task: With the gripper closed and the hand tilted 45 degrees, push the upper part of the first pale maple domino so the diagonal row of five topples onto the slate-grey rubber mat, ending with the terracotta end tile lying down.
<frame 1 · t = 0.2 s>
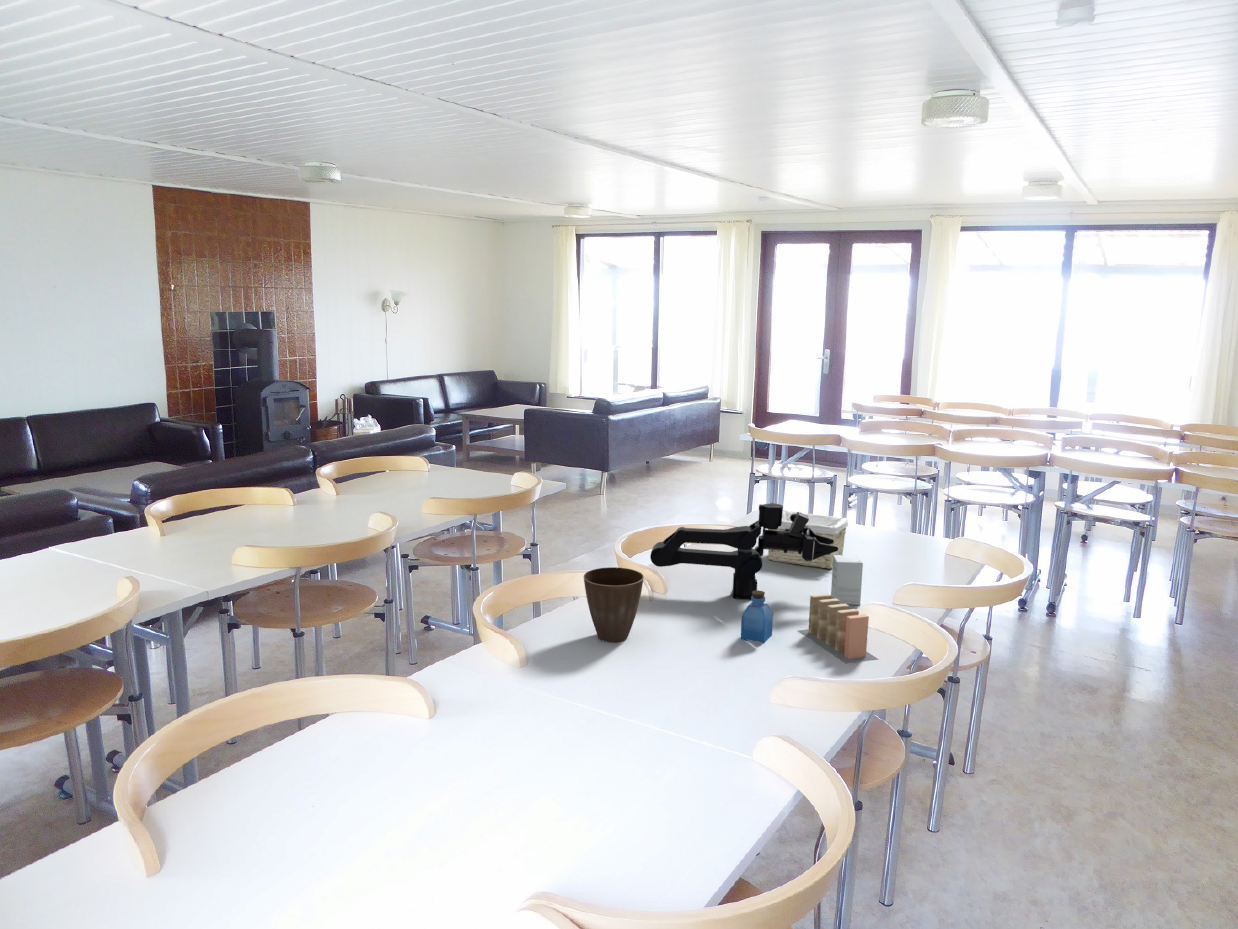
hand: (835, 545, 240), 16 cm above the table, tool horizontal, fingers open, 9 cm apart
domino 3: (836, 644, 209), resting on mat
supplement box: (845, 601, 243), on the table
perfume bottle: (756, 638, 214), on the table
plant pot: (612, 638, 212), on the table
storage basket: (804, 561, 284), on the table
domino 5: (855, 656, 202), resting on mat
domino 1: (818, 632, 217), resting on mat
domino 4: (845, 650, 206), resting on mat
domino 2: (827, 638, 213), resting on mat
mat: (836, 645, 209), on the table
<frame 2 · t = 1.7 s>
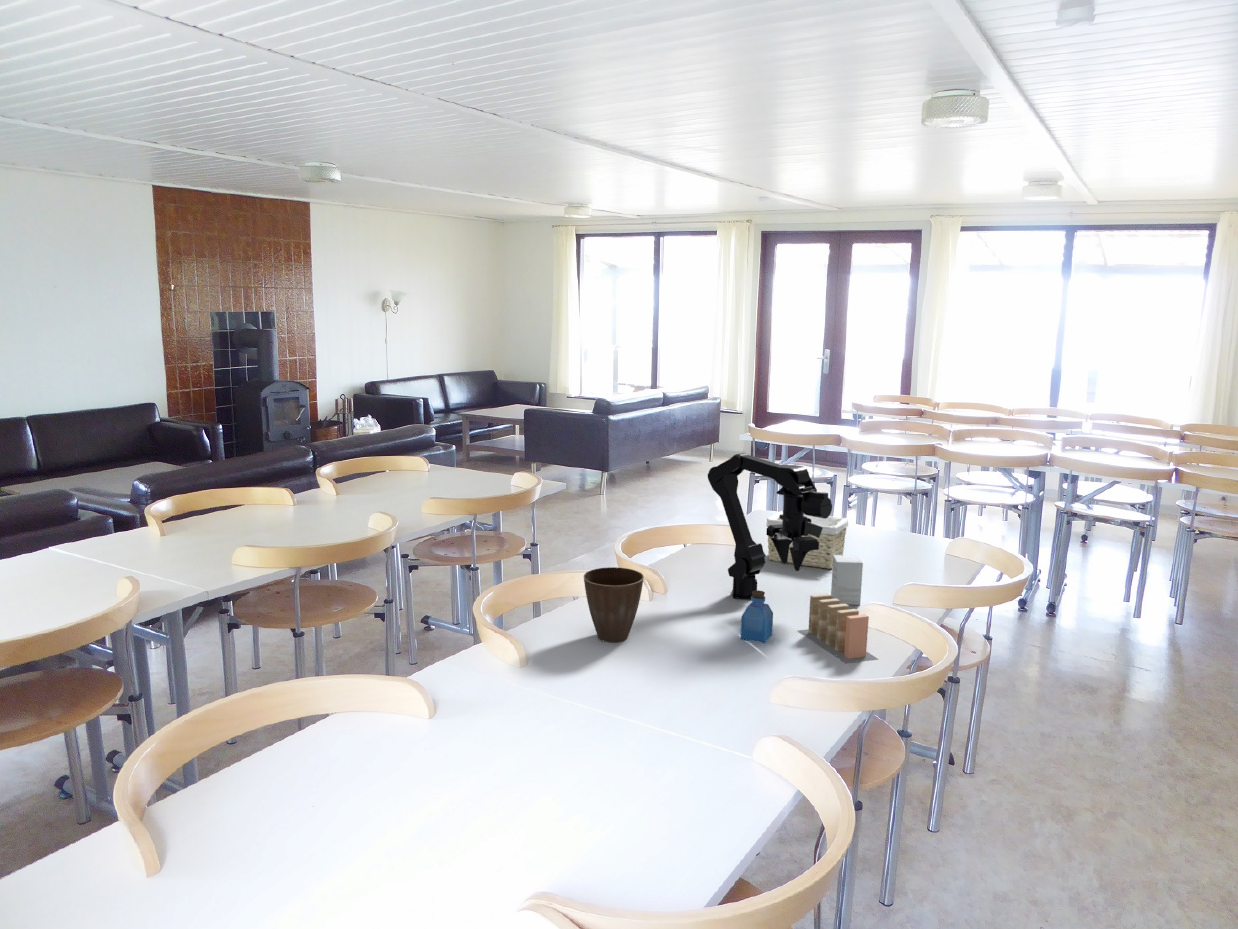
hand: (790, 567, 233), 12 cm above the table, tool pointing down, fingers open, 6 cm apart
nothing on the table moved.
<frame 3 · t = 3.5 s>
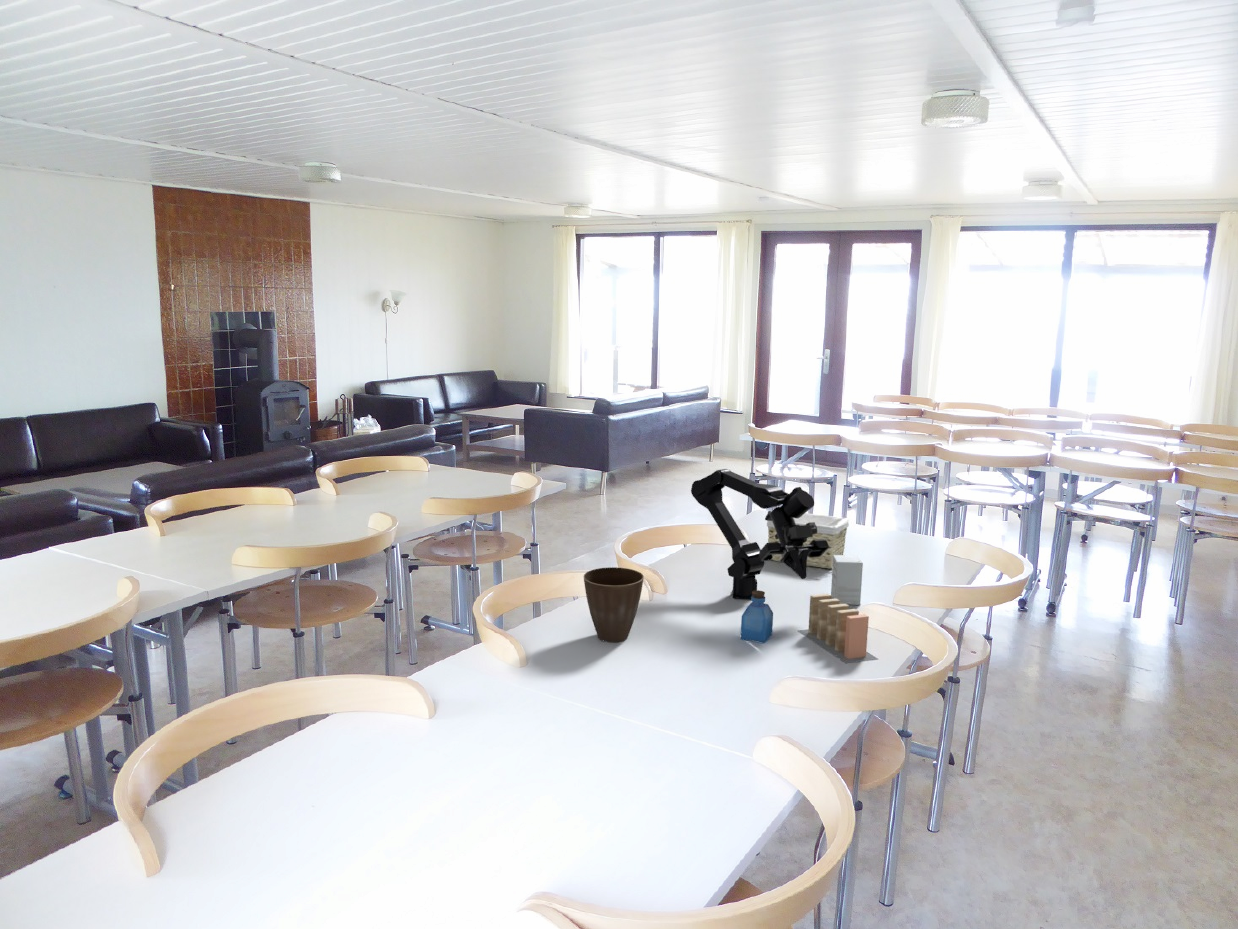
hand: (804, 578, 222), 12 cm above the table, tool tilted 45°, fingers closed
nothing on the table moved.
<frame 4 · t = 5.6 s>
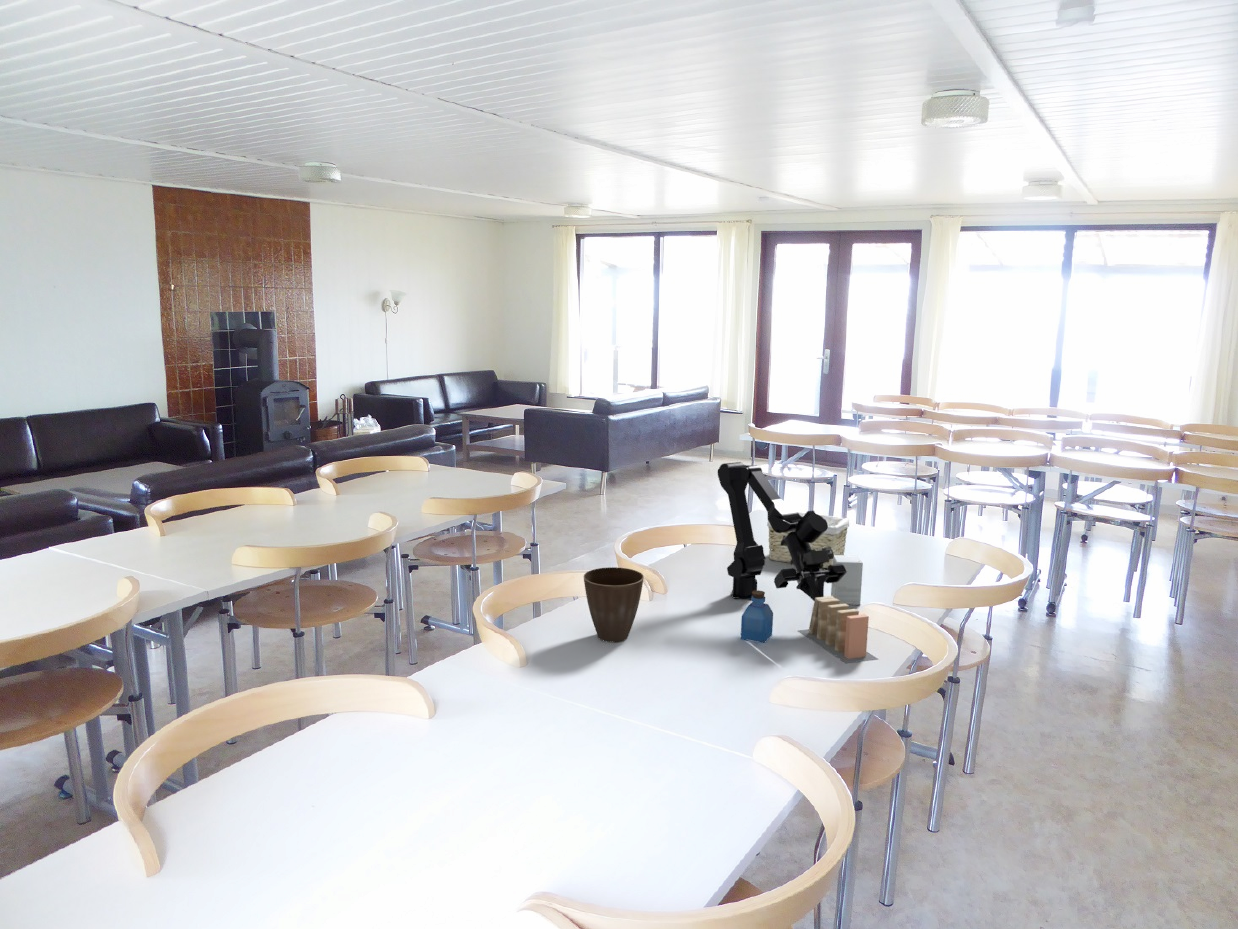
hand: (821, 605, 215), 8 cm above the table, tool tilted 45°, fingers closed
domino 1: (818, 632, 217), resting on mat, tilted 13°
everything else where it was.
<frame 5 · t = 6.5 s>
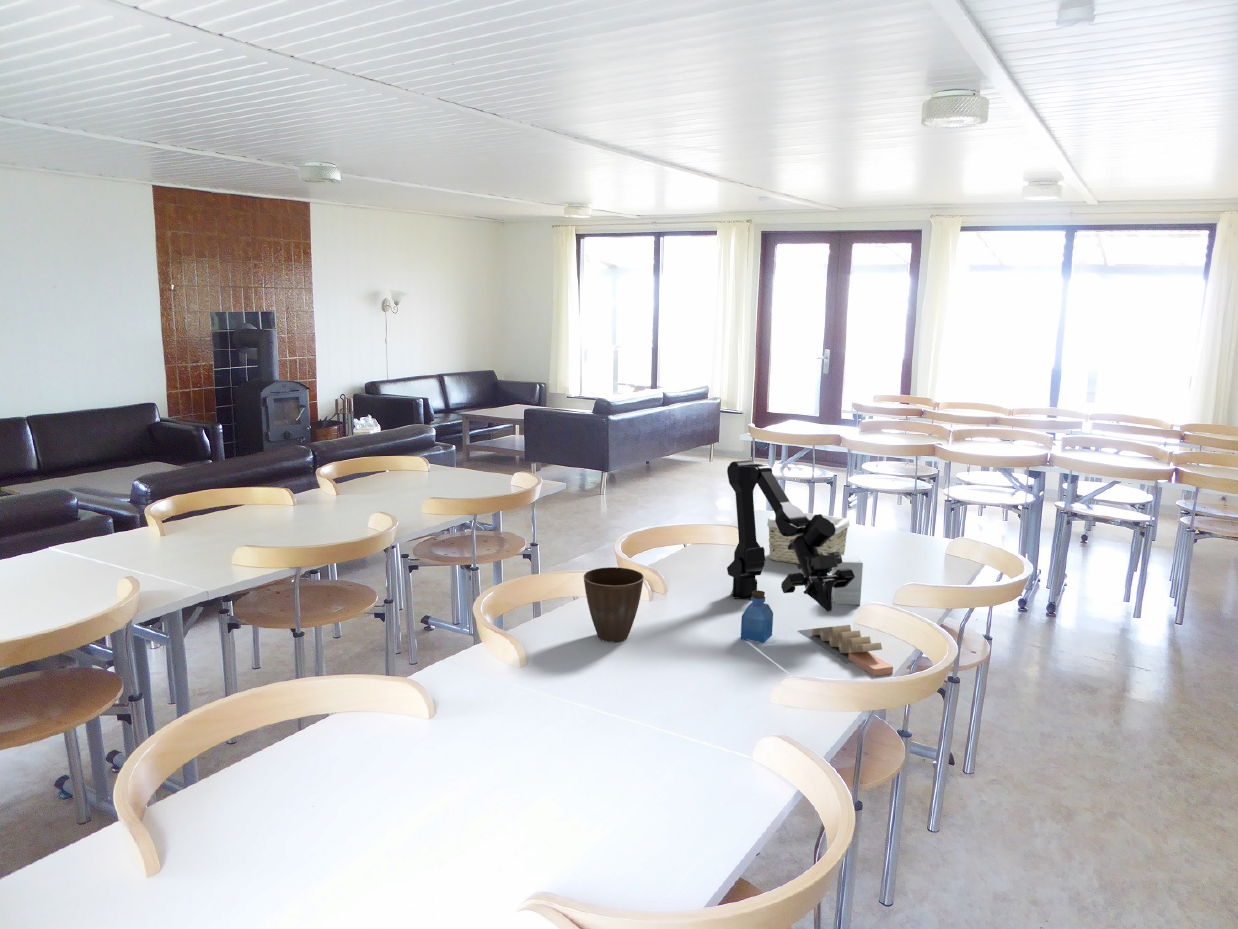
hand: (829, 610, 212), 8 cm above the table, tool tilted 45°, fingers closed
domino 3: (838, 642, 208), point 1 cm above the table, tilted 67°, touching domino 2, domino 4, mat
domino 5: (857, 654, 201), point 1 cm above the table, tilted 90°, touching domino 4, mat
domino 1: (820, 631, 216), point 1 cm above the table, tilted 67°, touching domino 2
domino 4: (848, 648, 204), point 1 cm above the table, tilted 67°, touching domino 3, domino 5
domino 2: (829, 636, 212), point 1 cm above the table, tilted 67°, touching domino 1, domino 3, mat
everything else where it was.
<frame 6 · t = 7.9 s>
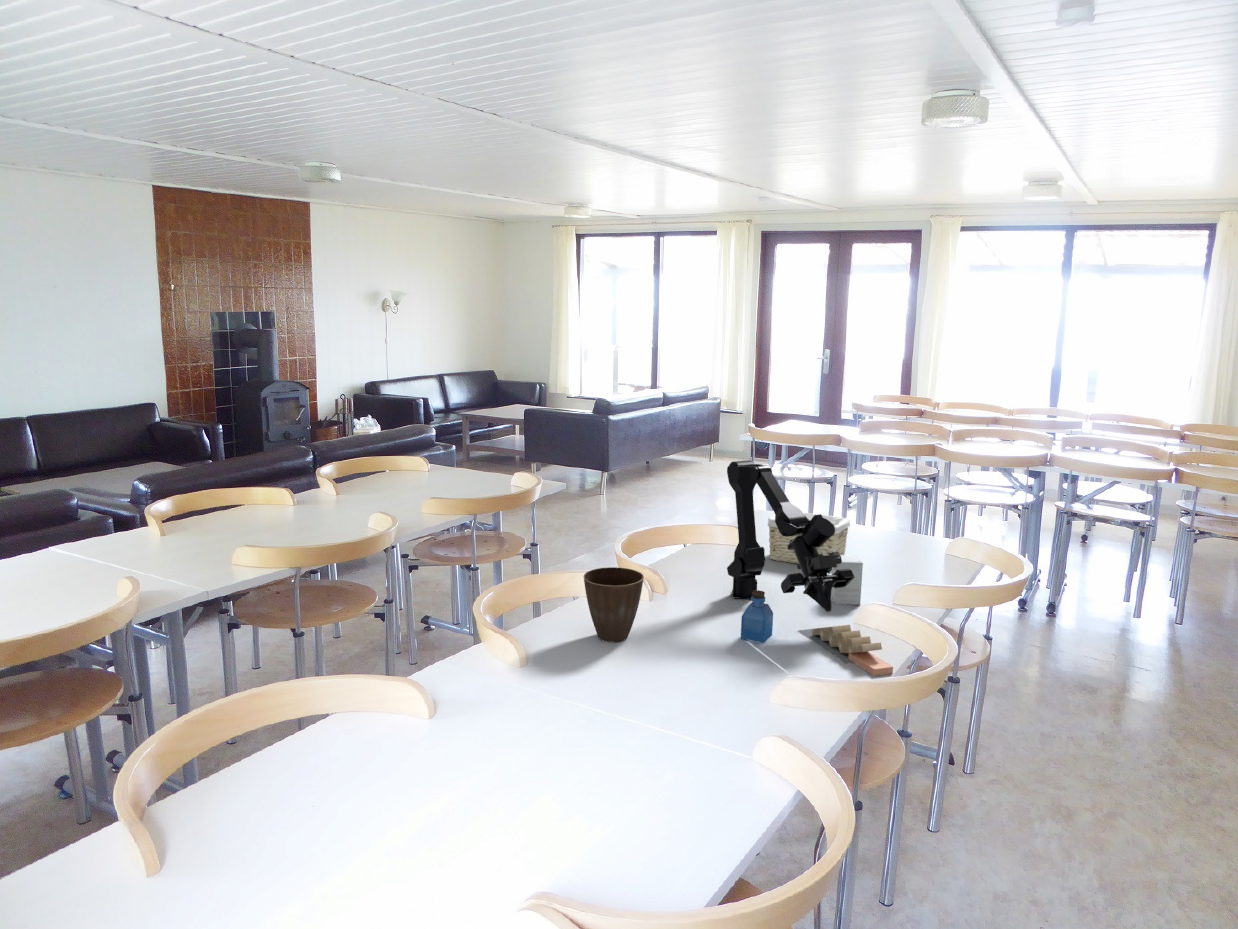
hand: (829, 610, 212), 8 cm above the table, tool tilted 45°, fingers closed
nothing on the table moved.
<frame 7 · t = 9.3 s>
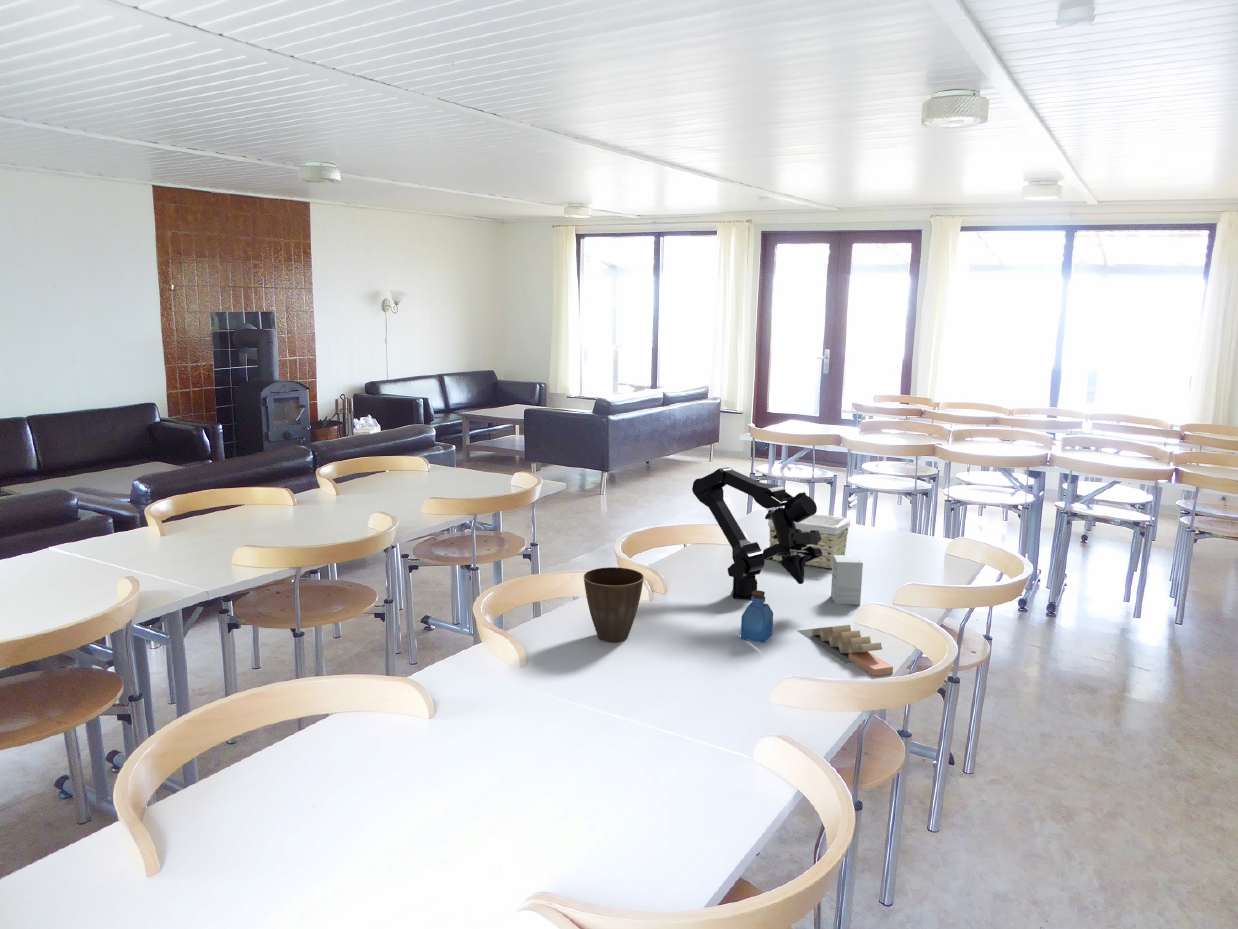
hand: (801, 583, 225), 10 cm above the table, tool tilted 35°, fingers closed
nothing on the table moved.
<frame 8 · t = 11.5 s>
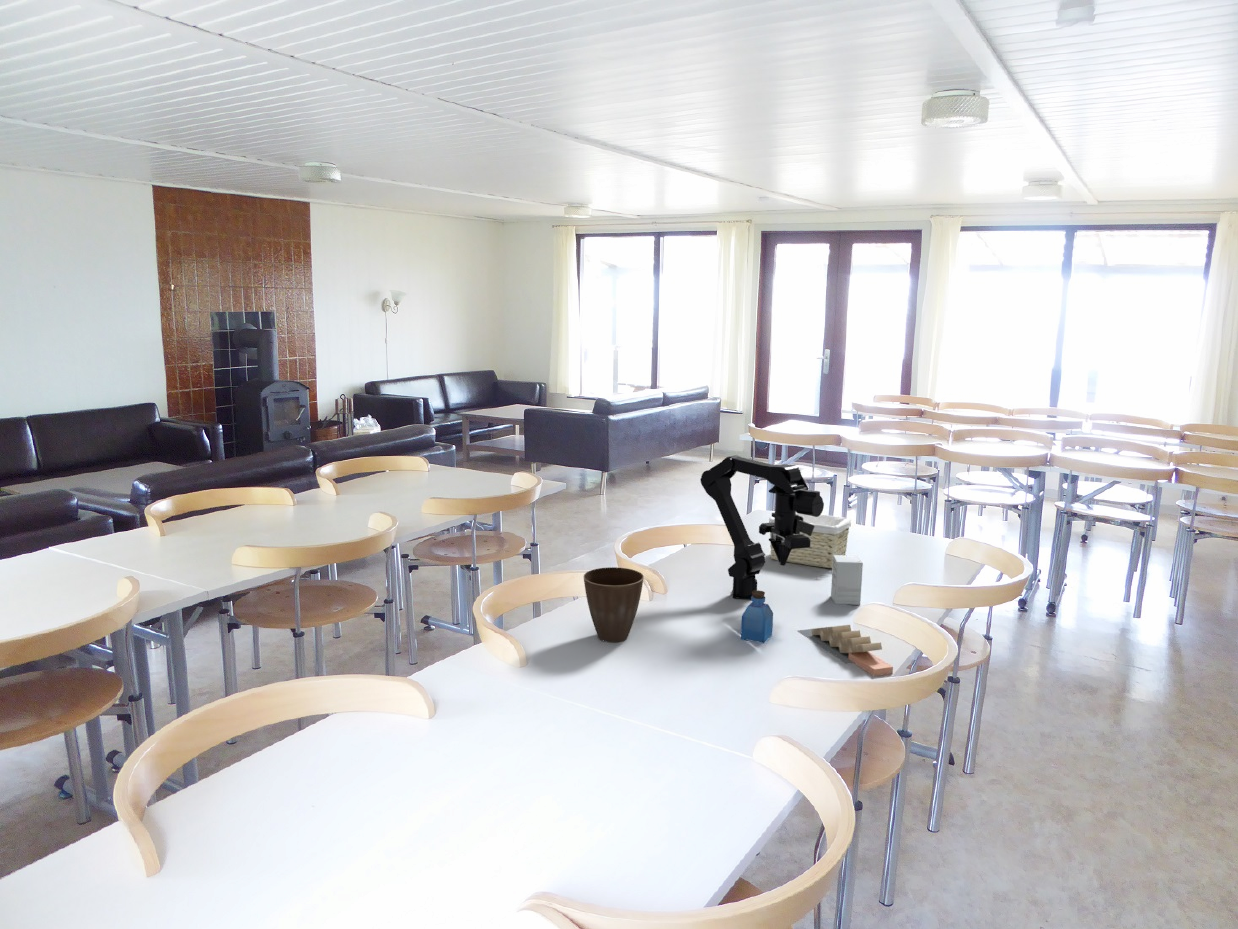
hand: (782, 565, 235), 12 cm above the table, tool pointing down, fingers closed
at the end: domino 5 tilted 90°; domino 1 tilted 67° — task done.
